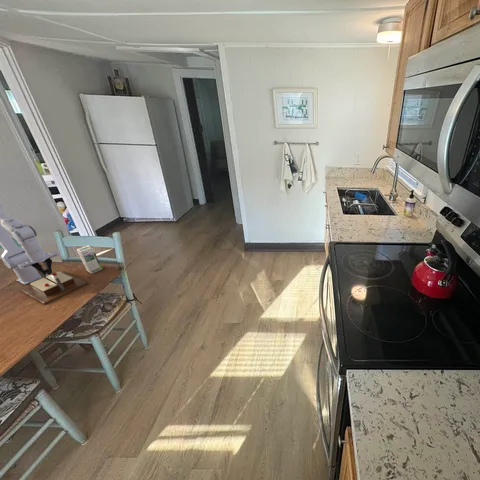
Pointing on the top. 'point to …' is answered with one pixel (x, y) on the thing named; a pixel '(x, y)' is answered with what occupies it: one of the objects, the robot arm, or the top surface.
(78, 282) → the cutting board
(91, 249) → the syrup box
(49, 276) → the cleaver knife
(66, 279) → the cake
